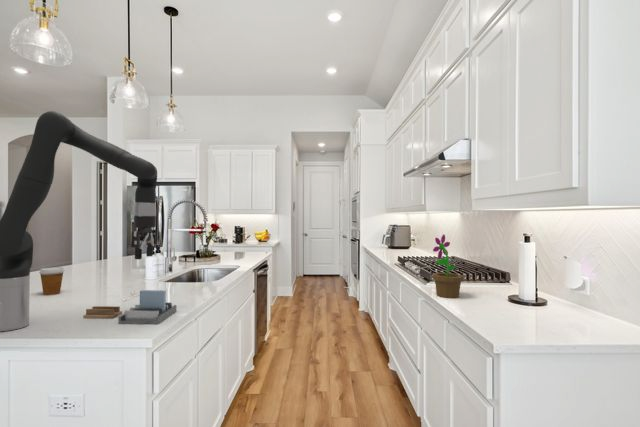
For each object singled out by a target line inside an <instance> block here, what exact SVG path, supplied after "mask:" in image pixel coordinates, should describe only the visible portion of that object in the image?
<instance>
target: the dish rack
mask: <svg viewBox="0 0 640 427" xmlns="http://www.w3.org/2000/svg"><path fill="white" fill-rule="evenodd" d="M176 312H177V305H176V304H173V302H170V301H169V302H167V301H166V311H165V312H164V308H140V304H136V305H135V306H134V307H130V308H129V310H127V309H126V310H124V312H123V313H122V314H121V315H119V316H117V318H118V319H117V320H118V323H117V324H119V325H159V324H161V323H162V322H163V321H165V320H166V319H167V318H170V317H171V316H172V315H174V314H175V313H176Z"/></svg>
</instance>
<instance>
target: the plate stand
mask: <svg viewBox="0 0 640 427" xmlns="http://www.w3.org/2000/svg"><path fill="white" fill-rule="evenodd" d="M121 315H123V311H122V310H121V306H113V305H111V306H109V305H107V306H105V305H102V306H101V305H100V306H92V307H91V308H86V309H85V314H83V315H82V317H83V319H115V318H118V317H119V316H121Z"/></svg>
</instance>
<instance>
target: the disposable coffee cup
mask: <svg viewBox="0 0 640 427" xmlns="http://www.w3.org/2000/svg"><path fill="white" fill-rule="evenodd" d="M64 272H65V269H64V267H60V266H54V267H53V266H52V267H44V268H40V270H39V274H40V280H41V286H42V295H43V296H54V295H58V294H61V290H62V284H63V278H64V277H63V276H64Z"/></svg>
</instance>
